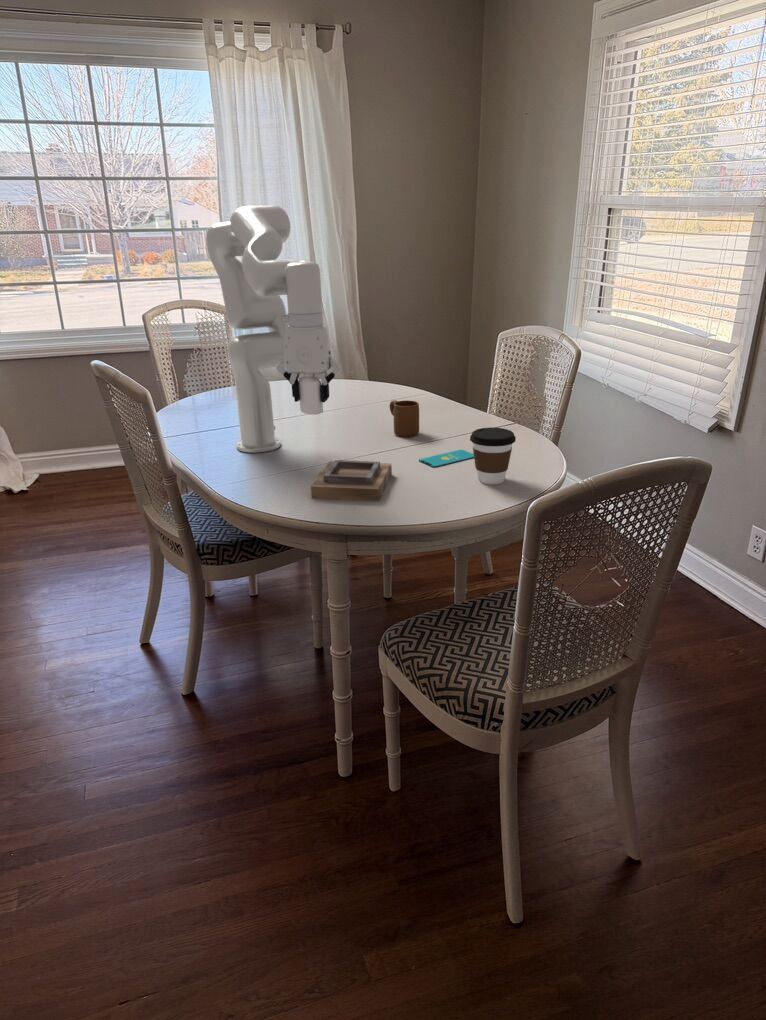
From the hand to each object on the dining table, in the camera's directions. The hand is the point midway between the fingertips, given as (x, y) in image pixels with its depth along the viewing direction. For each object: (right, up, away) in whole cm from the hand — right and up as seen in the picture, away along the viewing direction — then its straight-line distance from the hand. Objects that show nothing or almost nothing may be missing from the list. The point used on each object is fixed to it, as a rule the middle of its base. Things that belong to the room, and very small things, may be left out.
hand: (311, 399), depth 163 cm
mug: (+22, -2, +49) cm, 54 cm away
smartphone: (+34, -12, +26) cm, 45 cm away
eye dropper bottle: (0, -3, +1) cm, 3 cm away
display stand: (+9, -20, +9) cm, 23 cm away
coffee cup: (+43, -18, +10) cm, 48 cm away
